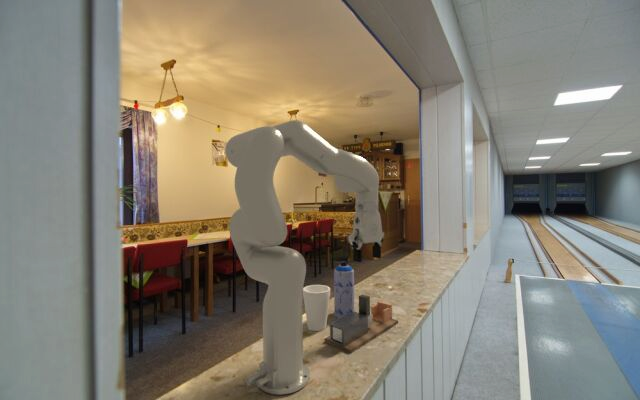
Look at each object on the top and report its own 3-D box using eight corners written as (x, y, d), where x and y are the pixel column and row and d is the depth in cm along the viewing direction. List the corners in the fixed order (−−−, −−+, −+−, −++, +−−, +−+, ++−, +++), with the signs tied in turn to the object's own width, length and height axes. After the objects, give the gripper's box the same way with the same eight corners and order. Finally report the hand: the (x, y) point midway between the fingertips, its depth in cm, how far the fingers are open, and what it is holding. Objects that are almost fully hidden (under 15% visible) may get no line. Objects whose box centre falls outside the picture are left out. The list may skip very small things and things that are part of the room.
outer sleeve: (344, 347, 82) (343, 328, 82) (330, 340, 86) (329, 322, 86) (368, 332, 91) (367, 315, 91) (354, 327, 94) (354, 311, 94)
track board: (350, 353, 80) (350, 349, 80) (324, 341, 87) (324, 338, 87) (398, 323, 100) (398, 320, 100) (373, 315, 107) (373, 313, 107)
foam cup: (299, 323, 100) (299, 286, 100) (323, 319, 104) (323, 283, 104) (309, 335, 92) (309, 294, 92) (335, 329, 95) (334, 290, 95)
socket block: (384, 323, 98) (384, 308, 98) (371, 318, 102) (371, 304, 102) (392, 318, 101) (391, 304, 101) (378, 314, 105) (378, 301, 105)
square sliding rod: (342, 342, 83) (341, 309, 83) (332, 338, 85) (332, 306, 85) (372, 325, 94) (372, 296, 94) (363, 322, 97) (363, 293, 97)
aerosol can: (358, 313, 109) (358, 261, 109) (347, 320, 103) (346, 264, 103) (341, 309, 114) (341, 258, 114) (329, 315, 108) (329, 262, 108)
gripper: (357, 208, 87) (358, 265, 87) (391, 207, 99) (392, 257, 98) (340, 208, 93) (341, 261, 93) (374, 207, 104) (374, 254, 104)
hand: (367, 259), depth 96 cm, fingers open, 9 cm apart
